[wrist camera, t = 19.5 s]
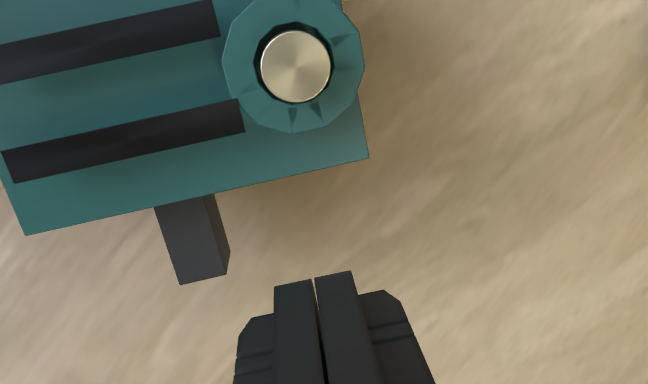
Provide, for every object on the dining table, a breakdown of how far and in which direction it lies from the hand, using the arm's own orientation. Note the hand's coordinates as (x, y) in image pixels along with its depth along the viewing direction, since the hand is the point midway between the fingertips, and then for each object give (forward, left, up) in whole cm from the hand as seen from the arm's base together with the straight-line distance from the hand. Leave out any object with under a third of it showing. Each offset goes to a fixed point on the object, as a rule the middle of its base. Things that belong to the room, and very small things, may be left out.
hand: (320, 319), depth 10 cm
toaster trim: (-5, -1, -19) cm, 20 cm away
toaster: (-6, +1, -26) cm, 26 cm away
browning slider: (-3, -7, -20) cm, 21 cm away
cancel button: (-1, +4, -13) cm, 13 cm away
